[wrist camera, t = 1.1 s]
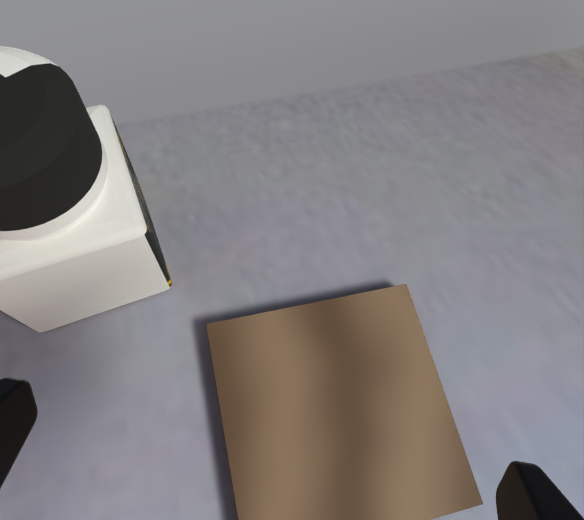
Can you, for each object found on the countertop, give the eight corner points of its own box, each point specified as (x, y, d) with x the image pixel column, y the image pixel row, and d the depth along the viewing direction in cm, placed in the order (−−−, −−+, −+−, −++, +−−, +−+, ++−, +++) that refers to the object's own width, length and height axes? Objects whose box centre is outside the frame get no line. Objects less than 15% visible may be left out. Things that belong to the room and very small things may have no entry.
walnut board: (247, 568, 20) (247, 573, 19) (207, 329, 24) (206, 324, 23) (473, 501, 22) (483, 503, 21) (400, 289, 26) (406, 284, 25)
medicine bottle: (174, 289, 25) (113, 157, 14) (38, 336, 23) (-153, 228, 12) (140, 185, 27) (65, 1, 16) (14, 220, 26) (-163, 43, 15)
